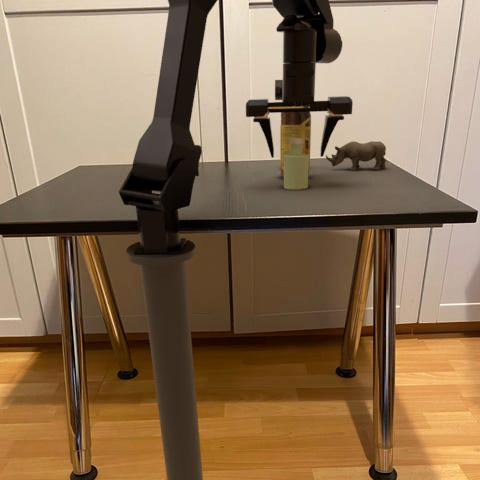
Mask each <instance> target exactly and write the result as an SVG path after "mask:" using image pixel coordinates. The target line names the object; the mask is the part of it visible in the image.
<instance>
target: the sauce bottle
mask: <svg viewBox="0 0 480 480" xmlns="http://www.w3.org/2000/svg"><path fill="white" fill-rule="evenodd" d="M304 108H310V107H304ZM279 130H280V131H279V133H280V135H279V136H280V137H279V138H280V140H279V143H280V145H279V149H280V150H279V151H280V154H279V155H280V157H279V161H280V162H279V165H280V167H279V168H280V177H281V178H283V179H284V155H285V154H291V144H290V138H292V137H303V138H304V144H303V152H302V153H304V154H308V155H309V165H308V176H309V175H310V169H311V145H312V144H311V141H312V140H311V138H312V137H311V136H312V132H311V131H312V113H311V112H281V113H280V129H279Z"/></svg>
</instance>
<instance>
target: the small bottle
mask: <svg viewBox="0 0 480 480" xmlns="http://www.w3.org/2000/svg"><path fill="white" fill-rule="evenodd" d="M290 144H291V154H285V155H284V178H283V188H284V189H285V190H293V191H296V190H299V191H300V190H305V189H308V187H309V175H308V165H309V155H308V154H304V153H302V152H303V144H304V138H303V137H292V138H290Z"/></svg>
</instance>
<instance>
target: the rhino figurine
mask: <svg viewBox="0 0 480 480" xmlns="http://www.w3.org/2000/svg"><path fill="white" fill-rule="evenodd" d="M334 150H335V151H336V153H335V154H332V153H331V157H329V156H328V155H326V154H325V159H326V160H327V161H328V162H330V163H331V166H332V167H336V166H338V165H339V164H341V163H342V162H344V160H345V159H349V160H351V163H352V164H351V165H352V166H351V168H350V171H357V170H358V169H359V168H360V164H359V163H360V162H364V163H365V162H370V161H371V160H374V159H375V164H374V166H373V167H372V170H373V171H380V170H382V169H386V167H387V166H386V162H387V159H386V158H385V156H386V150H387V147H386V145H385V144H384V142H382V141H372V140H371V141H368V142H365V143H360V142H358V141H350V142H347V143H345V144H344V145H342V146H340V147H338V146H336V145H335V146H334Z"/></svg>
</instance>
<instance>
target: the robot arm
mask: <svg viewBox="0 0 480 480" xmlns="http://www.w3.org/2000/svg"><path fill="white" fill-rule="evenodd" d="M218 1H219V0H167V3H168V13H167V20H166V27H165V34H164V41H163V47H162V55H161V61H160V67H159V68H160V69H159V76H158V82H157V89H156V97H155V103H154V110H153V117H152V120H151V123H150V124H149V126H148V127H147V129H145V131H144V132H143V134H142V136H141V137H140V139H139V140H138V143H137V147H136V150H135V154H134V157H133V161H132V167H131V169H130V171H129V172H128V174H127V176H126V178H125V179H124V181H123V183H122V185H121V187H120V188H119V190H118V194H119V197H120V199H121V201H122V203H123V205H125V206H132V207H135V211H136V212H135V213H136V222H137V228H138V237H139V242H140V244H139V245H138V246H137V247H136V248H135V249H134V251H133V254H134V255H177V254H180V252H181V250H182V249H183V247H184V245H185V244H186V242H187V240H188V238H185V237H184V238H183V237H181V238H180V236H181V233H180V219H179V210H180V209H183V208H188V207H190V206H191V202H192V201H191V200H192V194H193V188H194V183H195V180H196V177H199V176H200V172H199V167H200V166H199V165H200V160H201V156H202V153H203V149H202V146H201V145H200V144H195V142H194V138H193V135H192V132H191V128H190V127H191V121H192V116H193V115H192V114H193V108H194V102H195V96H196V89H197V83H198V76H199V69H200V64H201V58H202V53H203V44H204V39H205V33H206V26H207V20H208V16H209V14H210V12H211V11H212V9H213V8H214V6H215V5H216V4H217V2H218ZM271 4H272V6H273V7H274V8H275V10H276V11H277V12H278V14H279V15H280V16H281V17H282V21H280V22H279V23H278V25H277V26H276V32H277V33H282V79H274V100H275V101H269V98H250V99H248V100H247V101H246V103H245V117H246V118H253V119H252V121H253V123H258V125H259V126H260V128H261V130H262V133H263V135H264V139H265V141H266V144H267V147H268V150H269V154H270V157H271V158H273V159H274V156H275V149H274V147H275V145H274V140H273V139H274V138H273V130H272V122H271V116H269V115H270V114H275V113H280V114H281V112H310V113H313V112H315V113H316V112H326V114H324V122H323V123H324V124H323V130H322V135H321V136H322V137H321V142H320V157H324V154H325V152H326V149H327V147H328V144H329V142H330V139H331V137H332V134H333V132H334V130H335V127H336V126H337V124H338V122H339V121H344V120H345V116H344V115H353V105H354V104H353V99H352V97H350V96H347V95H344V96H342V95H341V96H339V95H338V96H327V100H315V94H316V68H317V64H331V63H334V62H335V61H337V59H338V58H339V56H340V55H341V53H342V50H343V40H342V36H341V34H340V33H339V31H338V30H336V29H335V28H334V23H335V22H334V16H333V12H332V9H331V5H330V0H271ZM304 107H309V108H304ZM155 192H158V193H155Z"/></svg>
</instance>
